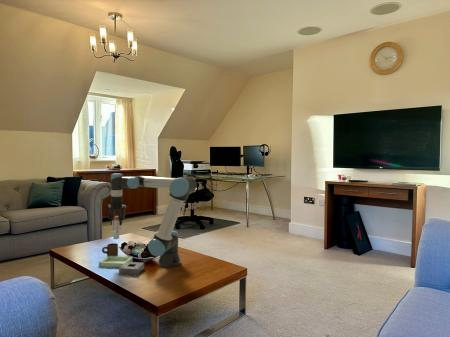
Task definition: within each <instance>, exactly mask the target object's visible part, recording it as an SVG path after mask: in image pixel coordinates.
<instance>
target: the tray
mask: <svg viewBox="0 0 450 337" xmlns="http://www.w3.org/2000/svg"><path fill="white" fill-rule="evenodd" d="M133 259H134V257H133V256H122V255H121V256H119V255H118V256H107V255H106V257H104V258H103V259H101V260H100V261H98V268H118V269H119V268H120V267H121V266H122V265H123V264H125V263H126V262H133V261H134V260H133Z"/></svg>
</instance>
